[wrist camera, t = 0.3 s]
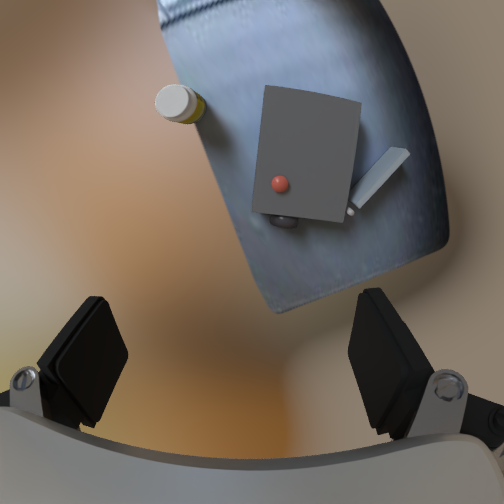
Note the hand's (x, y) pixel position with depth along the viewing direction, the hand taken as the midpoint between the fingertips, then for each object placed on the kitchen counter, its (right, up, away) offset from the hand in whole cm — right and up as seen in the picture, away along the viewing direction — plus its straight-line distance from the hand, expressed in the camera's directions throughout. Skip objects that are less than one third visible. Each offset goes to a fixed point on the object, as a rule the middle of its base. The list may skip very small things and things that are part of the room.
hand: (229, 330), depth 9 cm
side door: (+18, +14, +27) cm, 35 cm away
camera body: (+8, +16, +26) cm, 32 cm away
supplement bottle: (-8, +23, +24) cm, 34 cm away
